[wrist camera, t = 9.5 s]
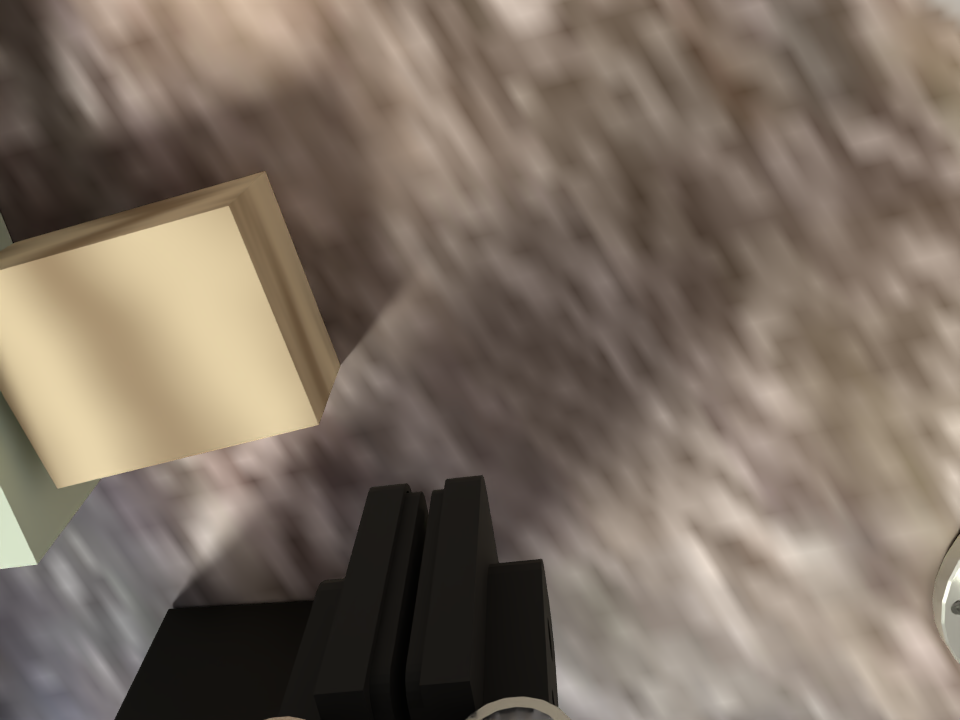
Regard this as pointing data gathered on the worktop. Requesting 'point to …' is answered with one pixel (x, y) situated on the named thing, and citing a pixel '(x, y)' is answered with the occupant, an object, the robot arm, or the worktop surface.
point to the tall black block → (218, 663)
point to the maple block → (161, 333)
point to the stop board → (29, 489)
